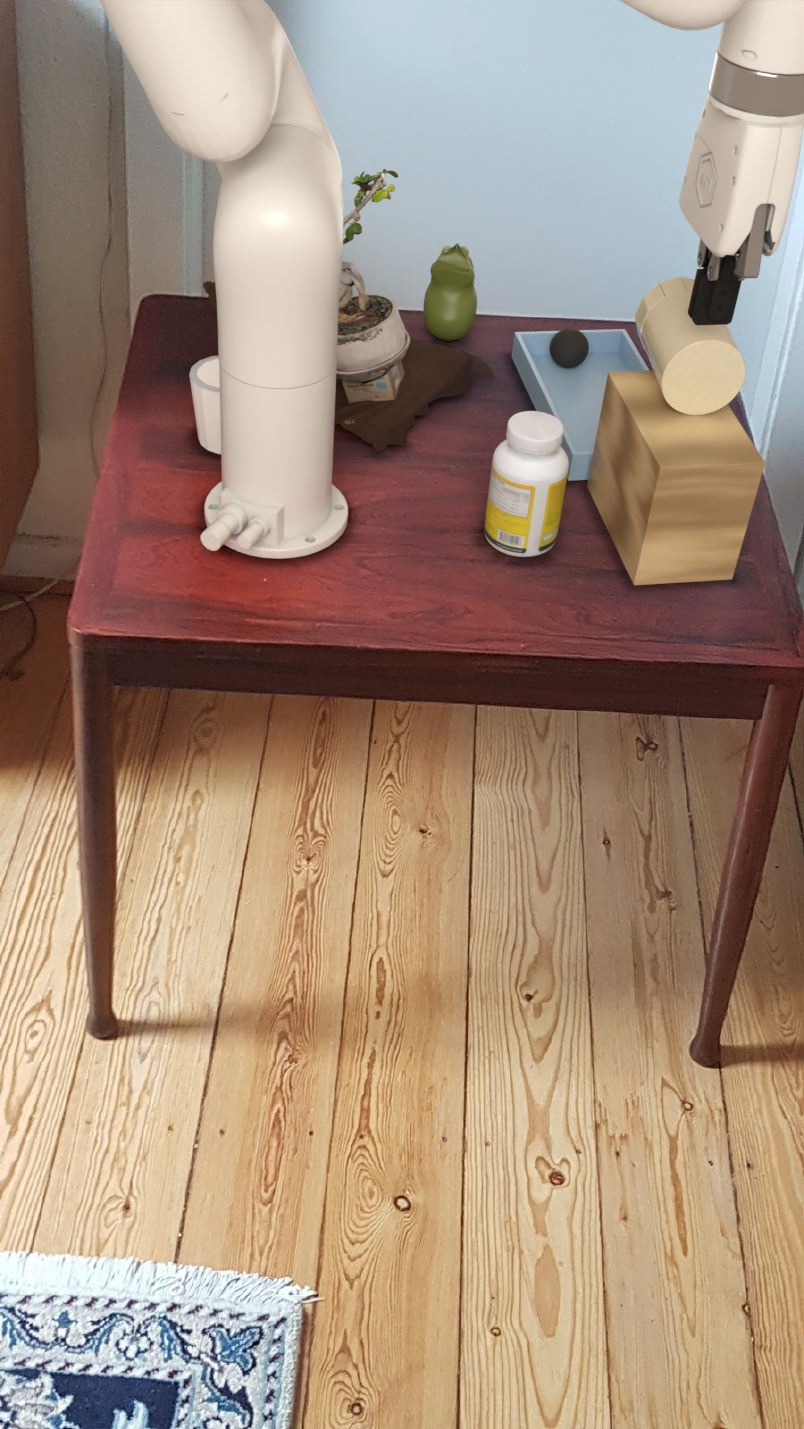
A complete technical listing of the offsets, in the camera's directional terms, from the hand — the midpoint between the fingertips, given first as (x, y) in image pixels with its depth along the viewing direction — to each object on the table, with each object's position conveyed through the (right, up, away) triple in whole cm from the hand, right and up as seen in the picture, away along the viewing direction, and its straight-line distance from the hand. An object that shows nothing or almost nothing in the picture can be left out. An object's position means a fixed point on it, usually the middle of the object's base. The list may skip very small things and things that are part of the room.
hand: (708, 319), depth 114 cm
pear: (-20, +9, +38) cm, 44 cm away
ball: (-7, +6, +33) cm, 35 cm away
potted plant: (-29, +1, +30) cm, 42 cm away
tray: (-5, -1, +29) cm, 29 cm away
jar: (0, -4, +4) cm, 6 cm away
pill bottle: (-14, -16, +13) cm, 25 cm away
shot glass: (-41, -6, +21) cm, 46 cm away
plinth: (-2, -15, +15) cm, 21 cm away
